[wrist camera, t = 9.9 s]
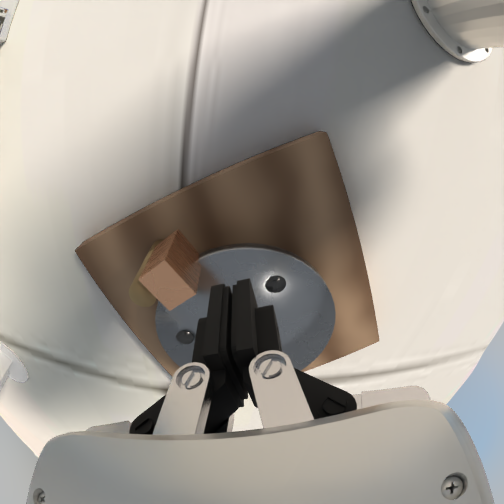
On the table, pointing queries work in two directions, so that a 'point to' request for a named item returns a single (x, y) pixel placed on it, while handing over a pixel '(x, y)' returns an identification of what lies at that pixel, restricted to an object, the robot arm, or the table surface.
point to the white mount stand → (11, 366)
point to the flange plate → (229, 272)
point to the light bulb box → (6, 17)
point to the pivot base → (247, 238)
